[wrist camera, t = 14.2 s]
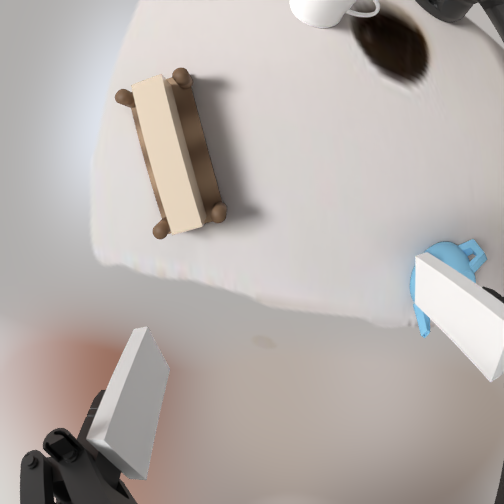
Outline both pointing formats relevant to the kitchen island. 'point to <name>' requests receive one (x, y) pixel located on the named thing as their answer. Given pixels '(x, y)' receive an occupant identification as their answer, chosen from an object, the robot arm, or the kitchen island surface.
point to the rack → (195, 146)
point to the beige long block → (168, 154)
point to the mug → (326, 11)
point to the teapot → (457, 261)
